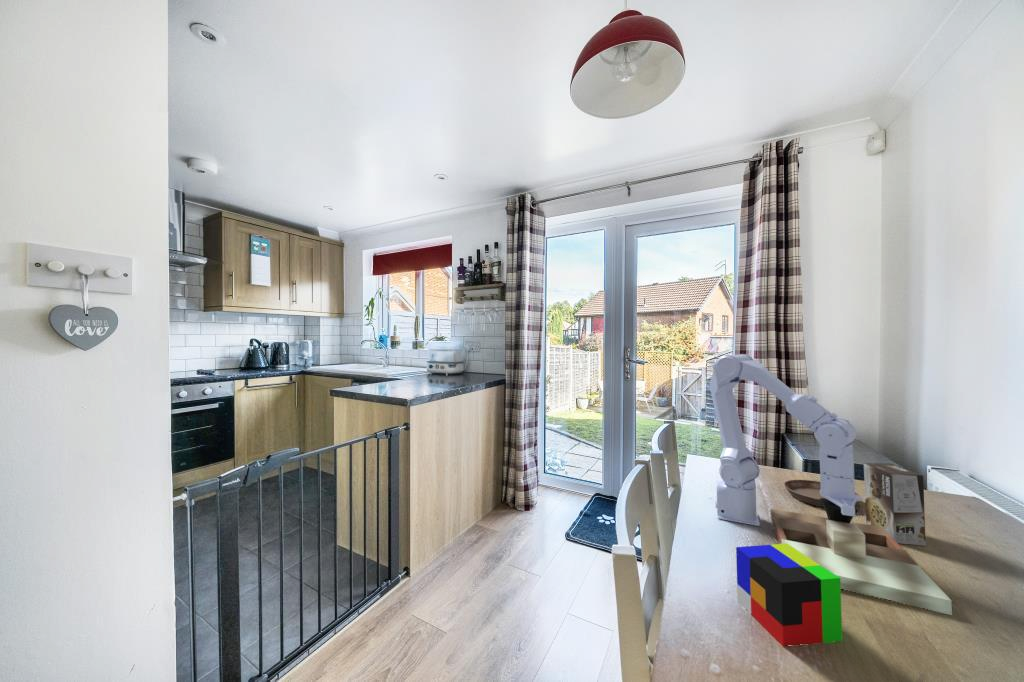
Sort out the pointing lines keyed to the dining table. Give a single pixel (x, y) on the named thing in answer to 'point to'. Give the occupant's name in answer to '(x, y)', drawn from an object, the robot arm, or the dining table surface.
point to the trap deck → (863, 562)
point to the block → (846, 539)
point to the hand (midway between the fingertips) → (838, 534)
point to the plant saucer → (807, 491)
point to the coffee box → (895, 502)
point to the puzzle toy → (789, 594)
